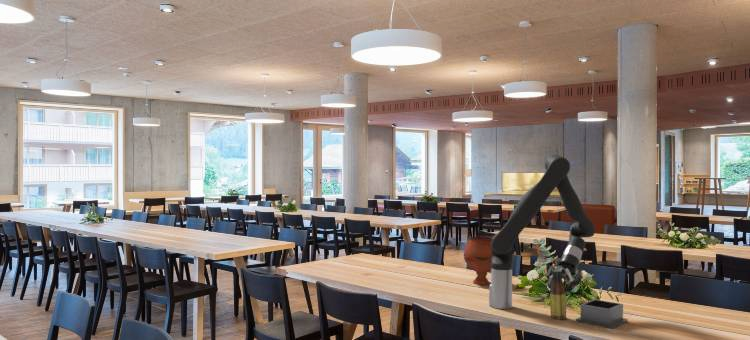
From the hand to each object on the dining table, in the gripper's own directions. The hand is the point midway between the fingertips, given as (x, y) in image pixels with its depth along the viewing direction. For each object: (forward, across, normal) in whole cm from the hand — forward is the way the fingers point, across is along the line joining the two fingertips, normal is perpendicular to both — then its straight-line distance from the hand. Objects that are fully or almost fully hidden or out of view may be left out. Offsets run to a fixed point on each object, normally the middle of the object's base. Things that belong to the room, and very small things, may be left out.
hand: (558, 289), depth 231 cm
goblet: (-18, -63, +35) cm, 74 cm away
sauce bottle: (+9, 0, +8) cm, 12 cm away
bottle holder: (+3, +15, +14) cm, 21 cm away
